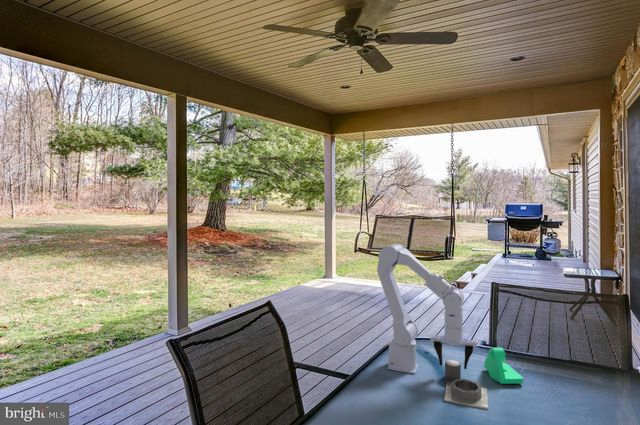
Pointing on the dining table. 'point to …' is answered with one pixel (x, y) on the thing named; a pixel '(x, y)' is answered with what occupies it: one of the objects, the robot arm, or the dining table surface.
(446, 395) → the white square plate
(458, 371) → the gray cylindrical peg
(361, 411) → the dining table surface
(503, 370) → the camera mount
